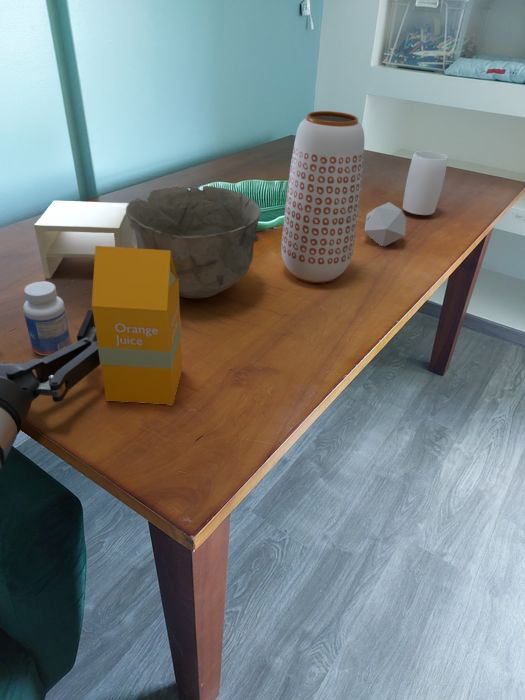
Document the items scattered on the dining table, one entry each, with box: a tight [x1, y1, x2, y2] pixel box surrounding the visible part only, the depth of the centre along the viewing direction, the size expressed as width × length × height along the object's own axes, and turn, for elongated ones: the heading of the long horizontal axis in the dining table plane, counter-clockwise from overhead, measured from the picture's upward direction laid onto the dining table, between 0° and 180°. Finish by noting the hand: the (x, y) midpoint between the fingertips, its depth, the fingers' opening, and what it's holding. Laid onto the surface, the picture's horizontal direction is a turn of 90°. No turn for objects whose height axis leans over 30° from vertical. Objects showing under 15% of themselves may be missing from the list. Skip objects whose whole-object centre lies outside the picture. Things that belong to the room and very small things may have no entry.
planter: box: [280, 110, 365, 284], centre depth 94 cm, size 13×13×28 cm
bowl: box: [126, 185, 262, 299], centre depth 91 cm, size 22×22×15 cm
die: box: [364, 201, 407, 247], centre depth 114 cm, size 8×9×10 cm
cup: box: [402, 150, 449, 216], centre depth 128 cm, size 8×8×14 cm
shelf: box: [34, 200, 135, 279], centre depth 98 cm, size 14×12×10 cm
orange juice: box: [91, 246, 183, 406], centre depth 66 cm, size 8×9×20 cm
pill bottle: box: [22, 280, 72, 357], centre depth 76 cm, size 6×5×10 cm
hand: (42, 316), depth 74 cm, fingers open, 13 cm apart
